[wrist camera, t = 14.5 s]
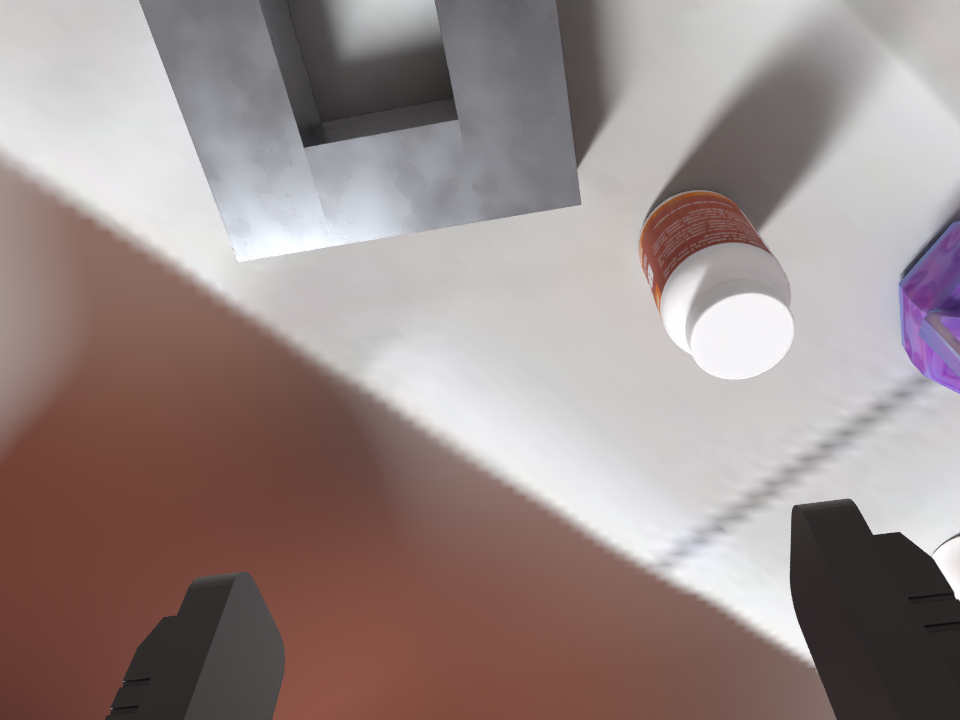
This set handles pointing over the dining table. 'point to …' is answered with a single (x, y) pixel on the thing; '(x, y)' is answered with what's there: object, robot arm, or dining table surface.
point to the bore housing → (369, 127)
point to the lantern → (934, 311)
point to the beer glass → (950, 563)
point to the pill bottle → (716, 284)
